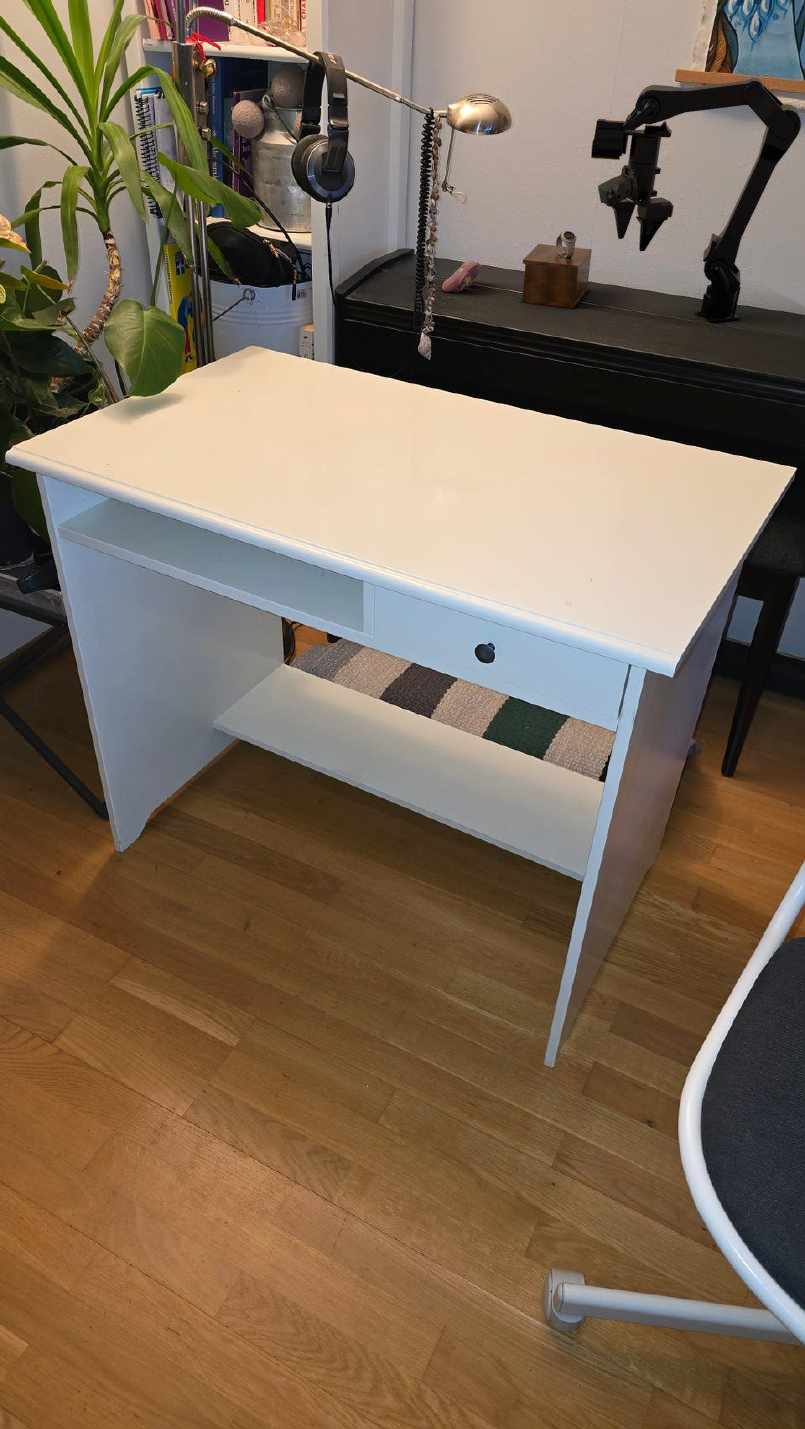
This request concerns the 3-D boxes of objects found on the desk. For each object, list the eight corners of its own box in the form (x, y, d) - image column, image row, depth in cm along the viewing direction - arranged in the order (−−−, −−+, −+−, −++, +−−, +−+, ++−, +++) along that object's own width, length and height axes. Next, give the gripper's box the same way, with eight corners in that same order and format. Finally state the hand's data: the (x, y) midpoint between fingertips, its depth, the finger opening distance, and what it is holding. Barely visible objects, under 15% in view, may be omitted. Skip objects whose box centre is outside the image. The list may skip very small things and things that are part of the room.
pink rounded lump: (454, 301, 223) (468, 275, 217) (439, 289, 223) (452, 262, 218) (475, 289, 229) (489, 263, 224) (460, 277, 229) (473, 251, 224)
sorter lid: (522, 263, 213) (522, 259, 212) (538, 247, 222) (538, 243, 221) (577, 269, 209) (578, 265, 209) (591, 253, 218) (591, 249, 218)
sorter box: (522, 302, 218) (525, 264, 213) (537, 284, 227) (540, 247, 222) (573, 308, 215) (577, 270, 209) (587, 290, 224) (591, 253, 218)
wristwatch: (563, 260, 212) (566, 235, 209) (551, 252, 216) (553, 227, 213) (578, 258, 213) (581, 233, 209) (565, 250, 217) (567, 226, 214)
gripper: (585, 154, 201) (576, 236, 211) (629, 175, 187) (618, 261, 198) (633, 150, 203) (622, 231, 214) (681, 170, 190) (667, 256, 200)
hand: (631, 245), depth 206 cm, fingers open, 9 cm apart
